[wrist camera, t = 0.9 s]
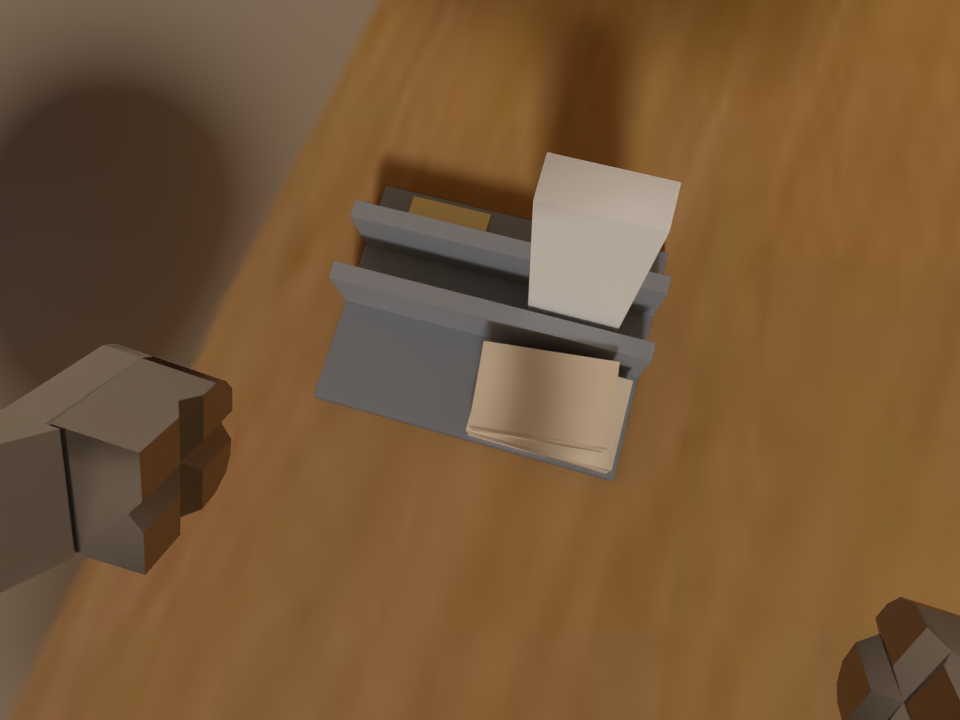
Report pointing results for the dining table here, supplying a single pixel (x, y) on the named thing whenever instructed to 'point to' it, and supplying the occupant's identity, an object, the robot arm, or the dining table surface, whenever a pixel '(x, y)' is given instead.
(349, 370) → the rack
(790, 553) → the dining table surface
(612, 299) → the plank
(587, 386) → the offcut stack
